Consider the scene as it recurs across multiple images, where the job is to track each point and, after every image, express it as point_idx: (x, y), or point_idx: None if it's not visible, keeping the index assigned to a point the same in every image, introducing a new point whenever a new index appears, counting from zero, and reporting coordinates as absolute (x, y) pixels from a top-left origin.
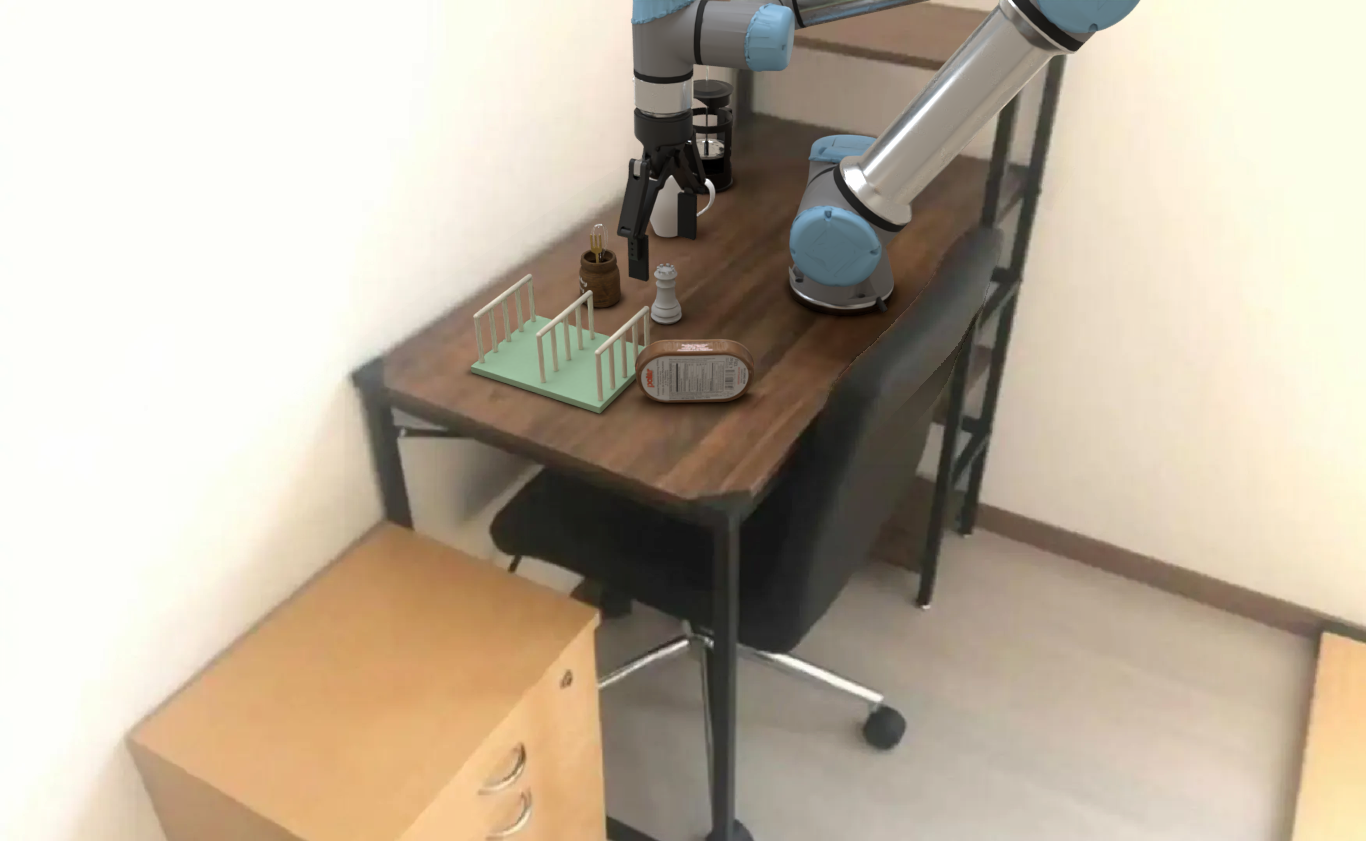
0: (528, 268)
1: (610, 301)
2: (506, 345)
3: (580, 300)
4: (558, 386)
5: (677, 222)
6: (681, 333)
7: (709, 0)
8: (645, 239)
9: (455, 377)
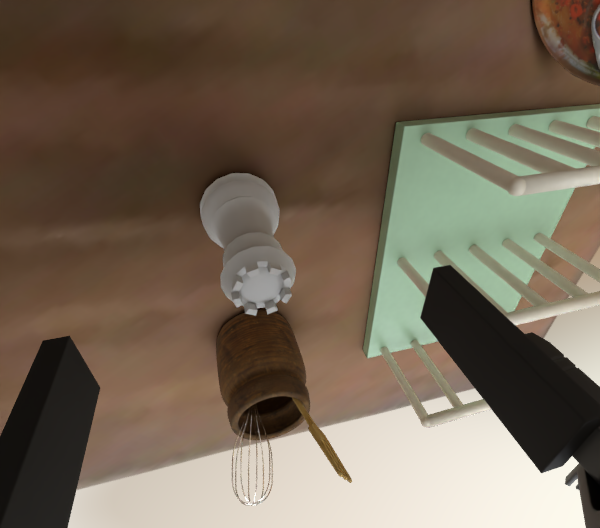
0: (240, 439)
1: (272, 316)
2: None
3: None
4: (550, 209)
5: (85, 444)
6: (280, 133)
7: None
8: (595, 404)
9: None
